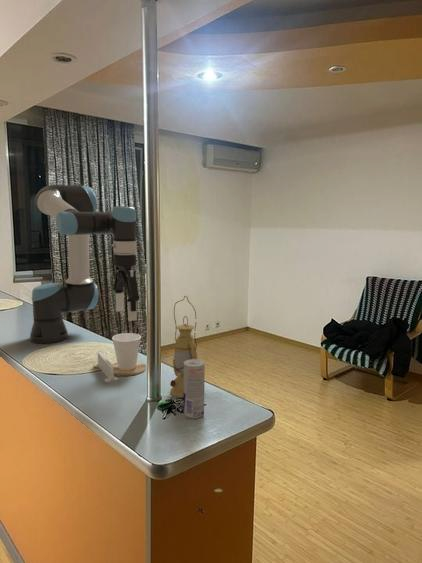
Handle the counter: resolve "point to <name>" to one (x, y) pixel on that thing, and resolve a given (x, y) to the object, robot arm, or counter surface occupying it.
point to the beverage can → (194, 388)
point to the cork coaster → (137, 370)
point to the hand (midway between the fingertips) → (126, 315)
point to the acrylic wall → (106, 368)
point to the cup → (126, 350)
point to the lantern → (182, 355)
